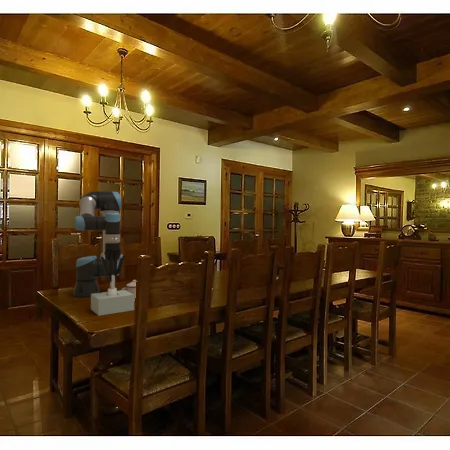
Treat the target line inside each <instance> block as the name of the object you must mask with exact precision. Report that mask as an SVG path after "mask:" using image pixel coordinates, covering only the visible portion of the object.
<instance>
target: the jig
mask: <svg viewBox="0 0 450 450" xmlns="http://www.w3.org/2000/svg"><path fill="white" fill-rule="evenodd" d="M90 310H91V311H92V312H93V313H95V314H96V315H97V316H98V317H99V316H104V315H105V316H106V315H110V314H111V315H112V314H116V313H117V314H118V313H124V312H130V311H131V312H132V311H135V302H134V294H132V293H130V292H128V291H127V289H123V290H122V289H121V290H117V295H114V296H108V291H103V292H100V293H94V294H91V296H90Z"/></svg>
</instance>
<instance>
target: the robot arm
mask: <svg viewBox="0 0 450 450" xmlns="http://www.w3.org/2000/svg"><path fill="white" fill-rule="evenodd" d="M78 204H79V206H78V207H79V208H80V211H79V215H76V216H75V217H74V229H75V230H76V231H102V253H101V254H100V256H99V257H97V255H88V256H83V257H80V258H77V260H76V264H75V269H76V270H75V275H76V276H75V278H76V279H75V285H74V288H73V291H72V293H73V294H72V296H73V297H77V298H88V297H90V298H91V294H94V293H101V292H100V291H101V289H100V288H99V285H98V281H97V278H100V277H101V278H102V277H103V278H104V277H108V279H107V280H108V282H109V283H110V285H109V288H116V286H115V285H116V282H117V281H118V279H117V278H118V277H117V276H119V275H120V274H121V271H122V268H123V265H124V264H123V262H124V260H125V258H126V255H124V254H122V252H121V213H120V211H122V199H121V195H120V192H118V191H113V190H112V191H107V190H106V191H105V190H104V191H101V190H93V191H89V192H87V193H85V194H84V195H82V196H81V197H80V199H79V202H78ZM95 210H100V211H99V212H100V214H101V215H102V216H99V215H95Z"/></svg>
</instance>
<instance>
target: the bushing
mask: <svg viewBox="0 0 450 450" xmlns="http://www.w3.org/2000/svg"><path fill="white" fill-rule="evenodd" d="M117 289H118V288H117V287H115V288H110V287H108V288H107V292H108V296H114V295H117V291H118V290H117Z"/></svg>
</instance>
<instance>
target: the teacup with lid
mask: <svg viewBox="0 0 450 450" xmlns="http://www.w3.org/2000/svg"><path fill="white" fill-rule="evenodd" d="M136 282H137V279H133V280H132V281H131V282H129V283H126V285H125V287H123V288H121V290H126V291H128V292H130V293H132V294H134V303H136V302H135V298H136Z"/></svg>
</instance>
